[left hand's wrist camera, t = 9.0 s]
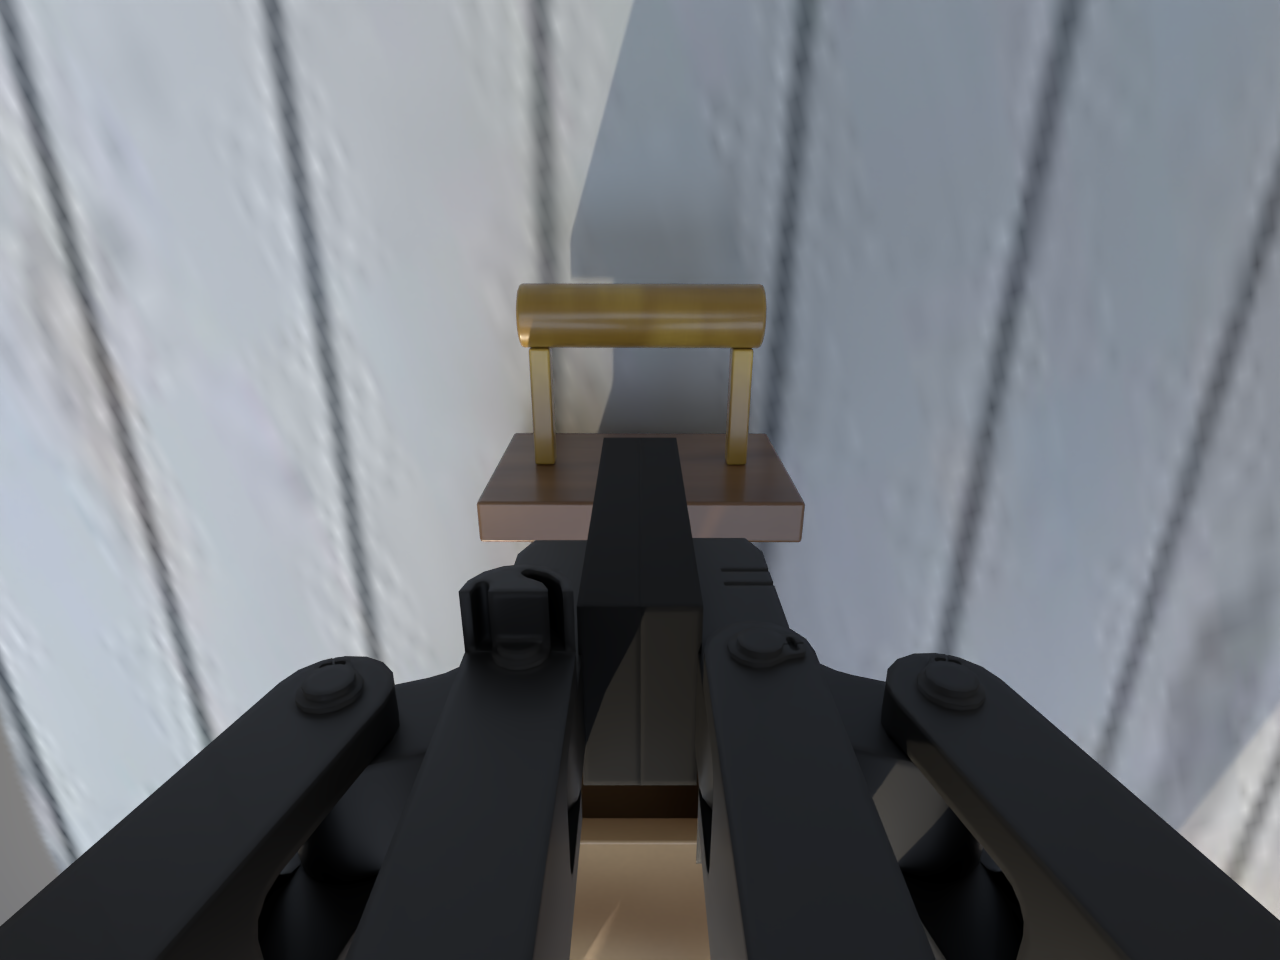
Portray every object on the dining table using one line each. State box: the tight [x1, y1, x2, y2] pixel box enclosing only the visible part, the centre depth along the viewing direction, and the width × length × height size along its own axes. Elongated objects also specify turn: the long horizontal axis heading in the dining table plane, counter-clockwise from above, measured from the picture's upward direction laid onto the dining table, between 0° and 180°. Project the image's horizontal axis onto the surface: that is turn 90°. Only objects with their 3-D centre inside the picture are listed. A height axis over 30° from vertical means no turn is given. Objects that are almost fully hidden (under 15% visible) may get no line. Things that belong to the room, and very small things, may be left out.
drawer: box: [477, 284, 805, 818], centre depth 24 cm, size 24×9×6 cm, turn 0°
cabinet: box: [570, 818, 711, 960], centre depth 29 cm, size 20×10×8 cm, turn 0°
